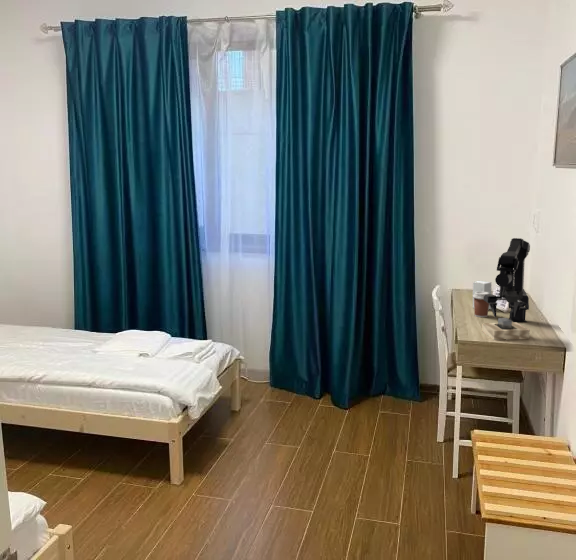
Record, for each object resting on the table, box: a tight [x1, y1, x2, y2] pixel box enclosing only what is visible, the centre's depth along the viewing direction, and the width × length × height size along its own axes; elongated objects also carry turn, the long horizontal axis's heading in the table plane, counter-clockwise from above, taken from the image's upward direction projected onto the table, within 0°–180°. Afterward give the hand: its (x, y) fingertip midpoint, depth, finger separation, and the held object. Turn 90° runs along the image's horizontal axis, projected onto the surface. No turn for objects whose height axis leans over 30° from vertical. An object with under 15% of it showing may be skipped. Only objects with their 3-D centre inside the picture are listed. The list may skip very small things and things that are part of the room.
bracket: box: [497, 317, 513, 330], centre depth 276 cm, size 4×8×7 cm, turn 3°
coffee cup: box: [472, 292, 489, 318], centre depth 312 cm, size 9×9×12 cm
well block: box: [481, 321, 531, 341], centre depth 276 cm, size 16×14×4 cm
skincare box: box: [472, 280, 492, 311], centre depth 327 cm, size 8×6×15 cm
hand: (505, 316), depth 276 cm, fingers open, 9 cm apart
